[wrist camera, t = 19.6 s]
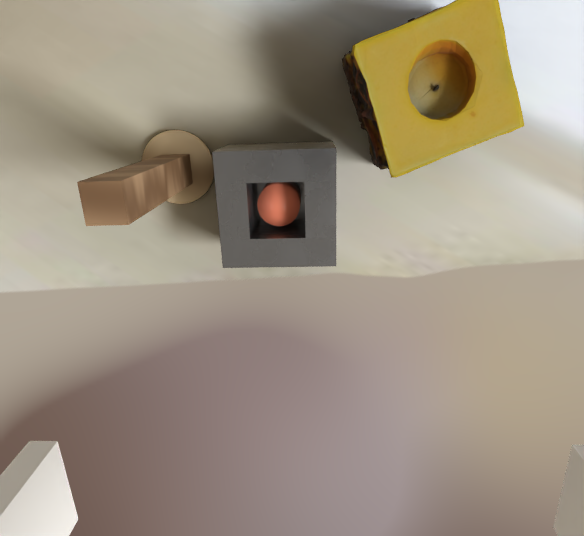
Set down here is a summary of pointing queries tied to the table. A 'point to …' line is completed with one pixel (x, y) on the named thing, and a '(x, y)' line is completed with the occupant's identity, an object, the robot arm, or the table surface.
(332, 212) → the box
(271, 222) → the orange ball
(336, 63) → the table surface
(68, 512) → the robot arm
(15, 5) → the table surface
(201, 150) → the coaster
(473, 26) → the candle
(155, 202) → the dowel
